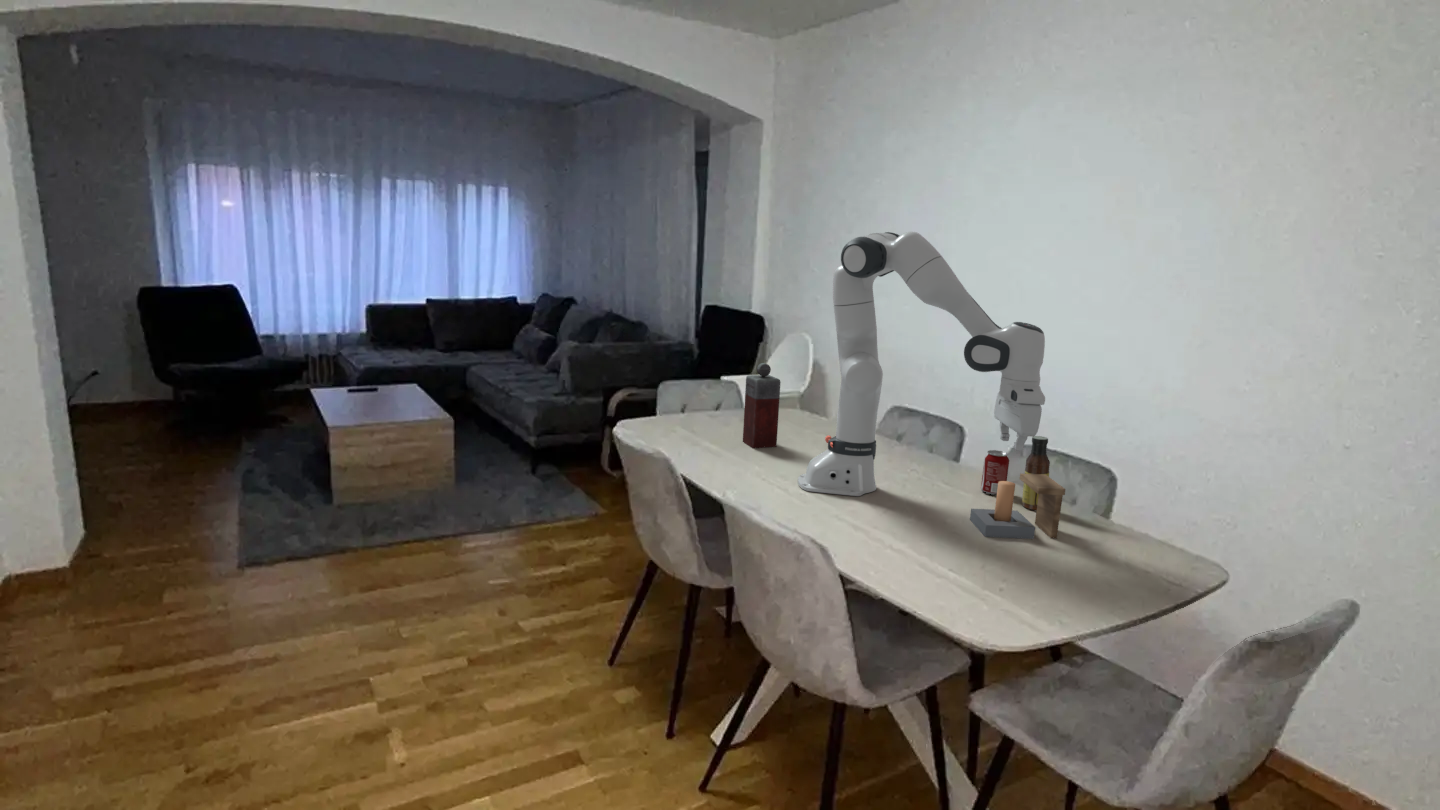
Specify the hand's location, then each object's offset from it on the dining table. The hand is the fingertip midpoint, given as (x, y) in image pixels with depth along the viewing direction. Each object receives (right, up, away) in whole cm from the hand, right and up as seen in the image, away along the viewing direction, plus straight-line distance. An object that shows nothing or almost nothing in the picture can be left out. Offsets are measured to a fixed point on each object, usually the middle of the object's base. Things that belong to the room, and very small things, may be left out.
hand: (1011, 445), depth 194 cm
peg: (-1, -21, +5) cm, 22 cm away
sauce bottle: (+14, -18, +22) cm, 32 cm away
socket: (-1, -21, +4) cm, 22 cm away
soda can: (+7, -16, +34) cm, 38 cm away
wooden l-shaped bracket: (+8, -22, +4) cm, 24 cm away
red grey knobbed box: (-59, -4, +77) cm, 96 cm away
